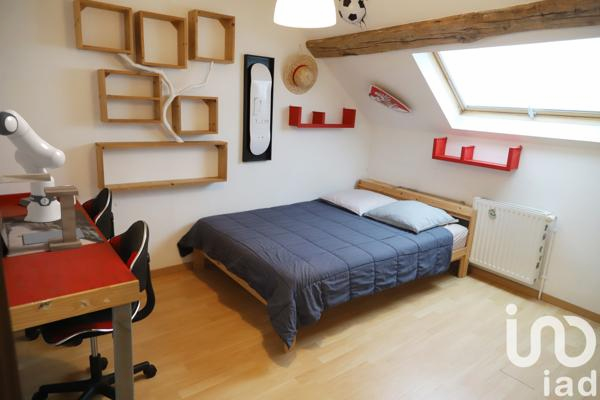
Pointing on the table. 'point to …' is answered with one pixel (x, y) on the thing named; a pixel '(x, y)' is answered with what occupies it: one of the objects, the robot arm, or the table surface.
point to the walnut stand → (65, 218)
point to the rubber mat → (46, 236)
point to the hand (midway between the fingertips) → (2, 177)
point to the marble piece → (25, 201)
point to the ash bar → (26, 178)
